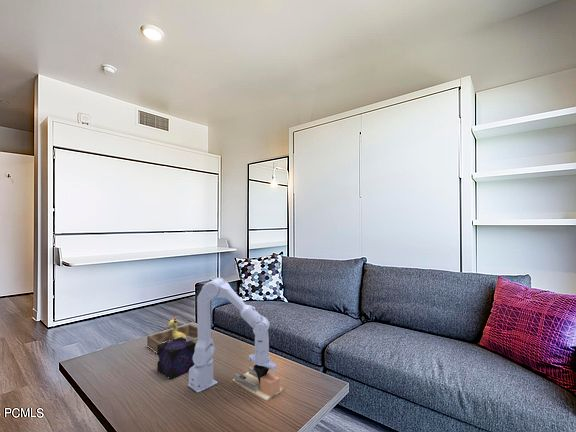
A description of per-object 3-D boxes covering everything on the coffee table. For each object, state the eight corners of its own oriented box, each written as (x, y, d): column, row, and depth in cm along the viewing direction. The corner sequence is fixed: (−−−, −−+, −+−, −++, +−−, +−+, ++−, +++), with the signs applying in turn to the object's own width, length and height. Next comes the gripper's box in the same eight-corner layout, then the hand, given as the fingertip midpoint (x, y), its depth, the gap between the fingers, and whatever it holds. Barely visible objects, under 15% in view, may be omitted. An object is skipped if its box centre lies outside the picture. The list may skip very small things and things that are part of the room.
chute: (266, 401, 112) (266, 391, 112) (232, 381, 126) (232, 372, 127) (284, 389, 120) (284, 380, 120) (250, 372, 134) (250, 364, 134)
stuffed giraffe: (161, 342, 167) (162, 314, 167) (194, 338, 174) (195, 311, 174) (162, 355, 152) (163, 324, 152) (198, 349, 160) (199, 320, 159)
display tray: (167, 360, 146) (167, 348, 146) (147, 347, 162) (147, 336, 162) (211, 344, 165) (211, 333, 165) (189, 334, 180) (189, 324, 180)
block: (270, 396, 114) (270, 383, 114) (260, 390, 118) (260, 377, 118) (279, 390, 118) (279, 378, 118) (269, 385, 122) (269, 372, 122)
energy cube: (181, 361, 145) (181, 336, 145) (195, 369, 137) (195, 343, 138) (157, 371, 136) (157, 344, 136) (171, 380, 128) (171, 352, 128)
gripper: (281, 351, 120) (281, 385, 119) (257, 341, 129) (257, 373, 129) (268, 357, 114) (269, 392, 114) (244, 346, 124) (244, 379, 124)
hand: (262, 382), depth 121 cm, fingers closed
